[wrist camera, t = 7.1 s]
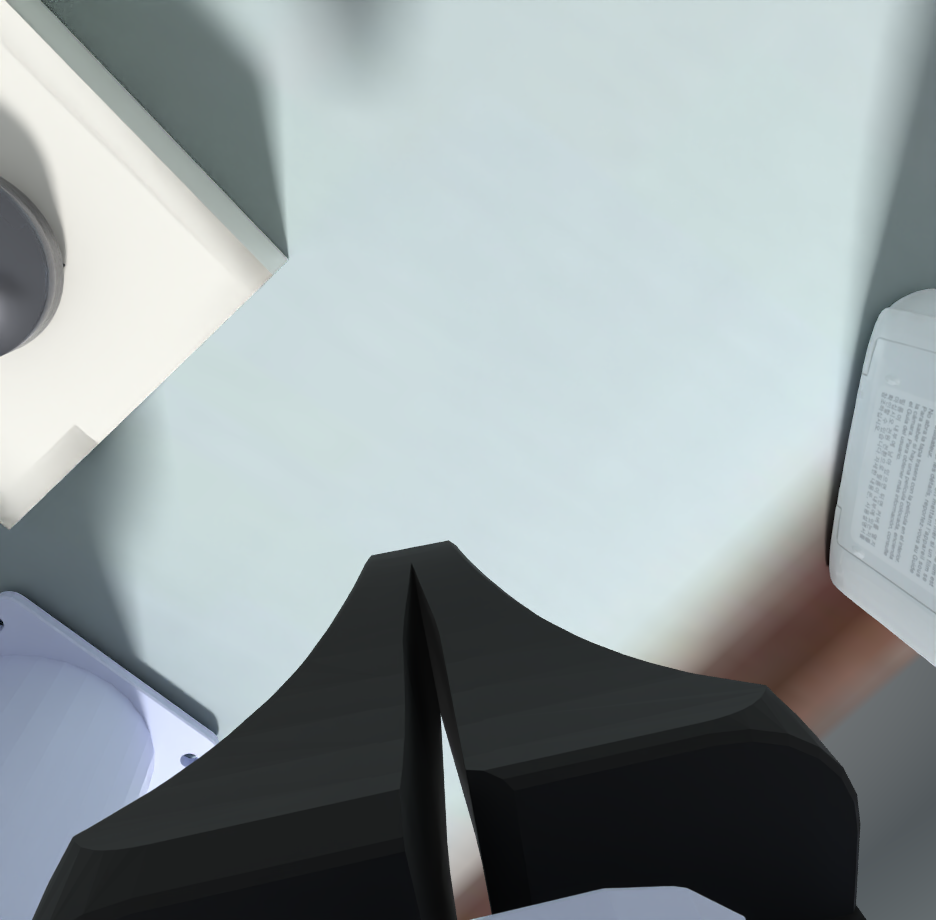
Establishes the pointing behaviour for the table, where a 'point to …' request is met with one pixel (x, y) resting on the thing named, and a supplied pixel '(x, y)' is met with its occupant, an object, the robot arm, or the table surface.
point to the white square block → (105, 253)
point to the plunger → (26, 270)
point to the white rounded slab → (893, 479)
